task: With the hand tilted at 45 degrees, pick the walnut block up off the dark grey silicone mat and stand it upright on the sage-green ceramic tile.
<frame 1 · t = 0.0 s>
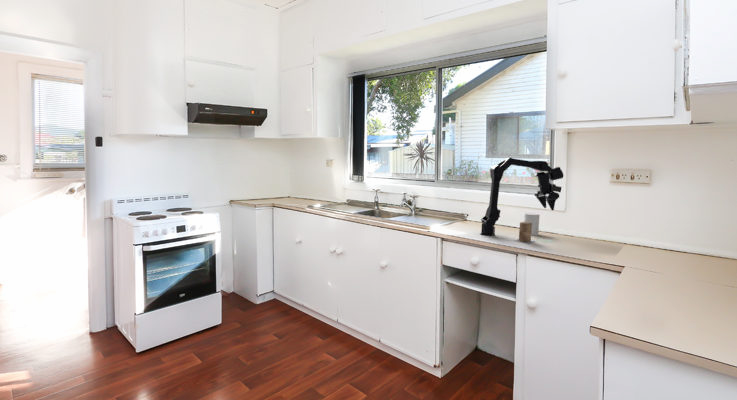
hand: (548, 209, 232), 15 cm above the countertop, tool pointing down, fingers open, 9 cm apart
ceramic tile: (545, 240, 219), on the countertop
cup: (530, 234, 237), on the countertop
walnut block: (524, 241, 217), resting on silicone mat
silicone mat: (524, 241, 217), on the countertop
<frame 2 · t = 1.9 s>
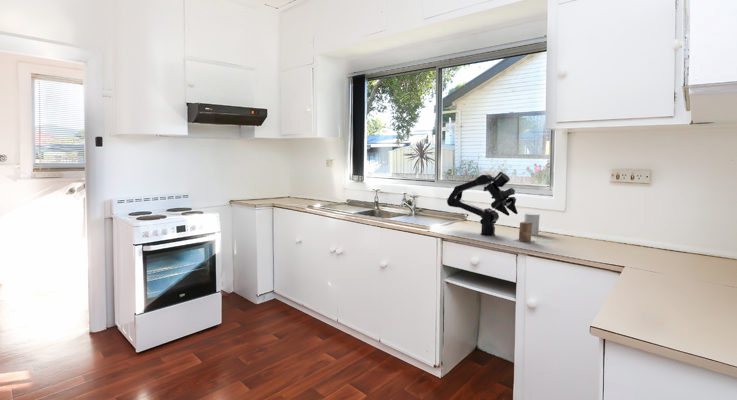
hand: (513, 214, 221), 14 cm above the countertop, tool tilted 45°, fingers open, 9 cm apart
nothing on the countertop moved.
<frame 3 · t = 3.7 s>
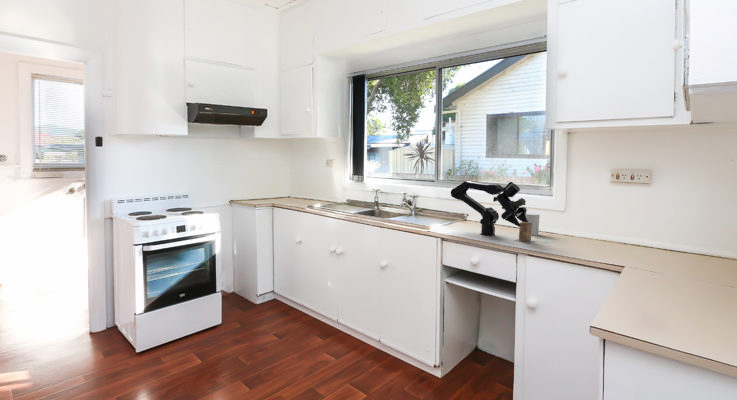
hand: (524, 225, 217), 9 cm above the countertop, tool tilted 45°, fingers open, 9 cm apart
nothing on the countertop moved.
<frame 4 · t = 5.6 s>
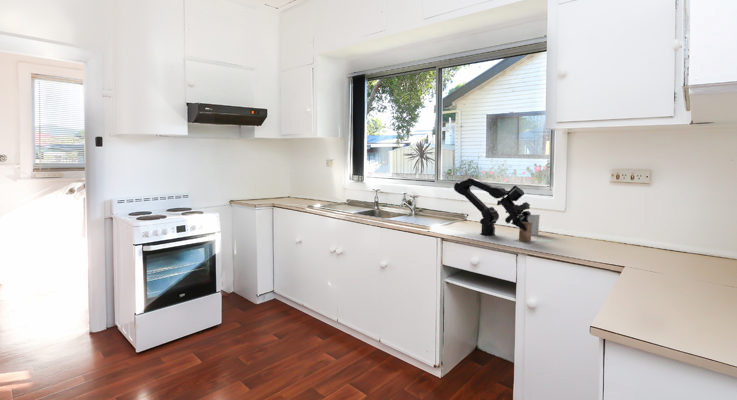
hand: (528, 229, 215), 7 cm above the countertop, tool tilted 45°, fingers closed on walnut block, 4 cm apart
walnut block: (524, 241, 217), resting on silicone mat, touching gripper
everything else where it was.
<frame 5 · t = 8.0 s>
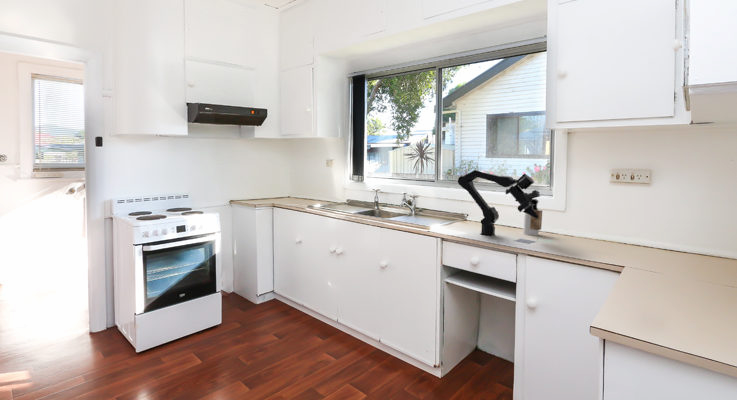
hand: (539, 217, 215), 13 cm above the countertop, tool tilted 45°, fingers closed on walnut block, 4 cm apart
walnut block: (535, 229, 216), point 7 cm above the countertop, touching gripper
everything else where it was.
when the fingers open (8 cm above the countertop, at t = 10.6 s): walnut block drops 1 cm, resting on ceramic tile.
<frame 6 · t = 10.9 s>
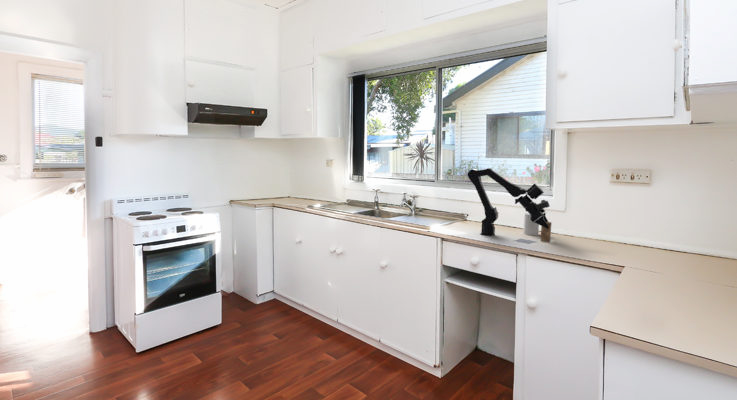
hand: (549, 226, 218), 8 cm above the countertop, tool tilted 45°, fingers open, 8 cm apart
walnut block: (545, 240, 219), resting on ceramic tile
everything else where it was.
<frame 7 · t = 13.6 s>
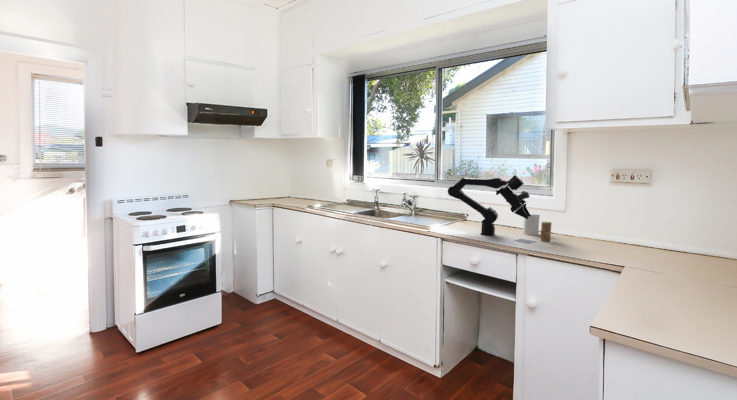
hand: (529, 217, 222), 12 cm above the countertop, tool tilted 45°, fingers open, 9 cm apart
nothing on the countertop moved.
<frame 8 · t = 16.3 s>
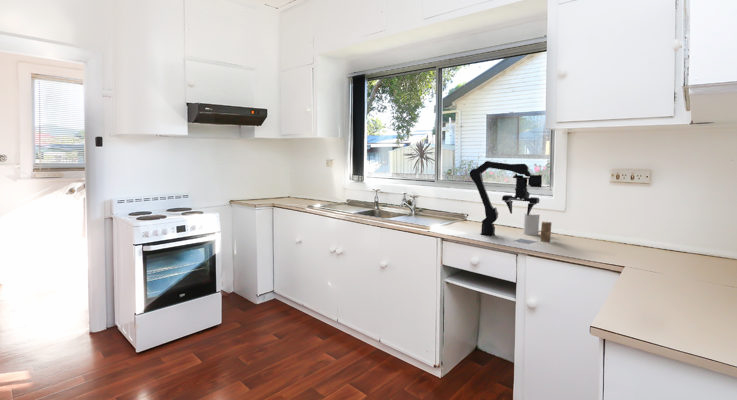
hand: (519, 214, 225), 13 cm above the countertop, tool pointing down, fingers open, 9 cm apart
nothing on the countertop moved.
at the end: walnut block inside the target area on the ceramic tile (0.0 cm from its centre), point 0.1 cm above the ceramic tile's base; walnut block tilted 0°; the gripper is holding nothing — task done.
